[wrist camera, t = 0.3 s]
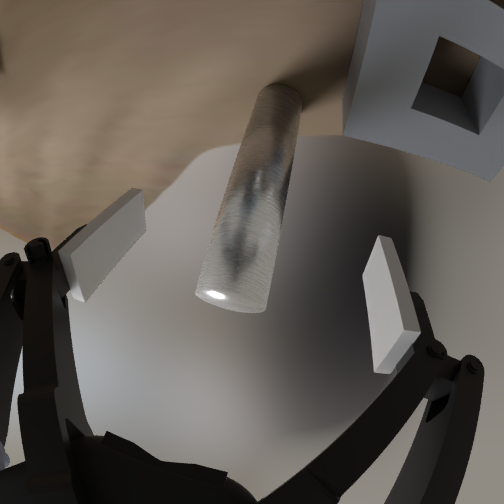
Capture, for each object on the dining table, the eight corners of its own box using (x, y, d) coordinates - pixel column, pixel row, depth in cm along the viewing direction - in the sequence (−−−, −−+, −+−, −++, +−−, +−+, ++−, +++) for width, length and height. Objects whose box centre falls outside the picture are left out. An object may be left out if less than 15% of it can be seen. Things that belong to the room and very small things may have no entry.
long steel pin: (257, 81, 22) (188, 282, 15) (304, 87, 22) (267, 298, 14) (257, 116, 26) (201, 304, 18) (299, 122, 26) (264, 316, 18)
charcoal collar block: (371, -51, 9) (385, -46, 7) (536, 32, 8) (570, 63, 6) (342, 99, 22) (342, 135, 20) (476, 142, 21) (490, 181, 19)
